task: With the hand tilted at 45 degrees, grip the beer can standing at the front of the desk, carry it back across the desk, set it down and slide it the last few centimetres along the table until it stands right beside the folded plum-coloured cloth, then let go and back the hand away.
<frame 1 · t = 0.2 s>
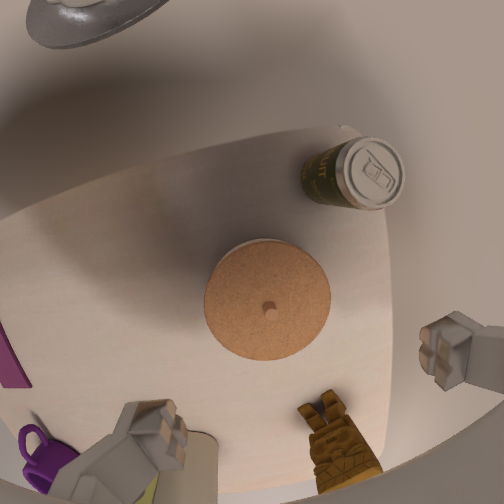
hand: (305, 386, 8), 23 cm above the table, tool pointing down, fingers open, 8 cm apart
trinket box: (260, 279, 32), on the table
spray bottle: (155, 416, 35), on the table
paper towel roll: (196, 440, 36), on the table
beer can: (323, 179, 30), on the table
figurine: (322, 408, 36), on the table
mug: (58, 444, 36), on the table
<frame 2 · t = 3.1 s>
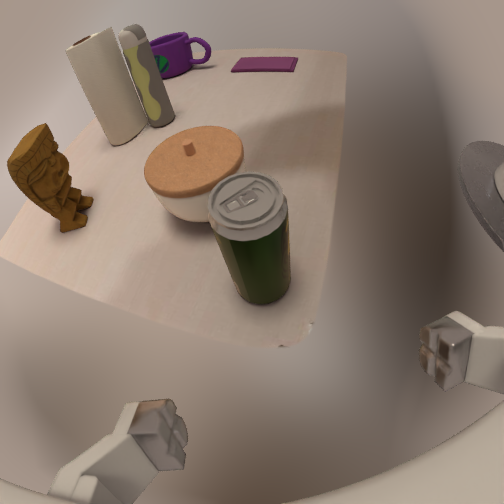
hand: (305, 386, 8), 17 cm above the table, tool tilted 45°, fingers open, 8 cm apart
trinket box: (208, 203, 35), on the table
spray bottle: (163, 121, 48), on the table
paper towel roll: (127, 136, 48), on the table
beer can: (263, 282, 29), on the table
cloth: (265, 64, 57), on the table
figurine: (76, 216, 38), on the table
mug: (184, 70, 62), on the table
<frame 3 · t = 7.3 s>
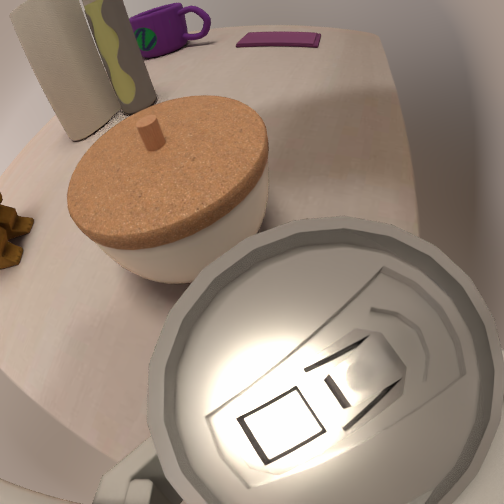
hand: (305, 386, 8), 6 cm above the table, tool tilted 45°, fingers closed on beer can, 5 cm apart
trinket box: (198, 238, 20), on the table
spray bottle: (140, 106, 33), on the table
paper towel roll: (92, 128, 32), on the table
beer can: (302, 410, 13), on the table, touching gripper
cloth: (280, 39, 42), on the table
figurine: (12, 246, 23), on the table
mug: (177, 48, 47), on the table
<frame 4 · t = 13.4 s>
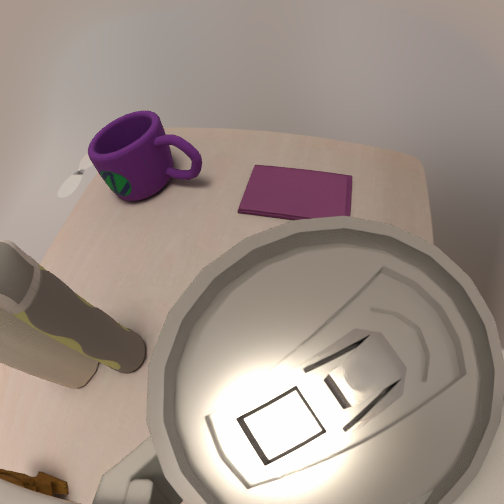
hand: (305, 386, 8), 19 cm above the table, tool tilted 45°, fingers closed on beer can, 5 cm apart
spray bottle: (129, 353, 29), on the table
paper towel roll: (80, 366, 28), on the table
beer can: (302, 410, 13), point 13 cm above the table, touching gripper
cloth: (298, 193, 38), on the table
figurine: (54, 494, 19), on the table
mug: (160, 182, 43), on the table
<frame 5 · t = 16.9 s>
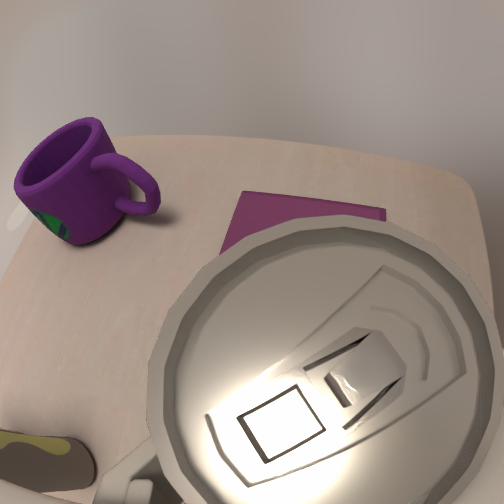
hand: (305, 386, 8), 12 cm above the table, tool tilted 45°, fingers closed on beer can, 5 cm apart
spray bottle: (77, 463, 16), on the table
beer can: (302, 409, 13), point 5 cm above the table, touching gripper
cloth: (307, 239, 25), on the table
mug: (114, 216, 30), on the table
when the fingers open (6 cm above the table, at t = 19.9 s): beer can stays where it is, on the table.
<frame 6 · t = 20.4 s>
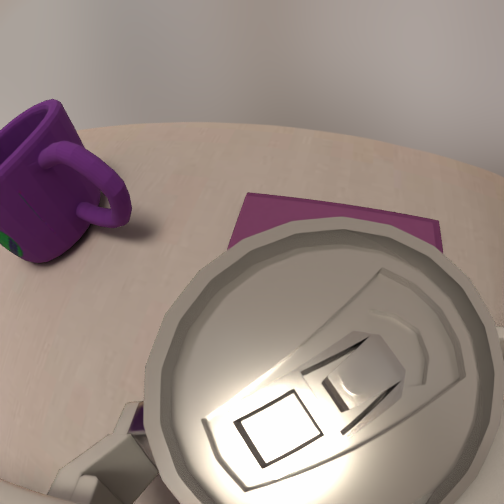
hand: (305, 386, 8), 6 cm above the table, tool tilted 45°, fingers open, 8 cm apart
beer can: (302, 410, 13), on the table
cloth: (340, 264, 17), on the table
mug: (80, 226, 22), on the table
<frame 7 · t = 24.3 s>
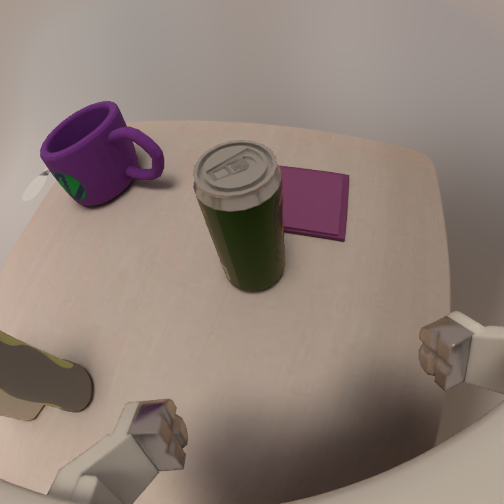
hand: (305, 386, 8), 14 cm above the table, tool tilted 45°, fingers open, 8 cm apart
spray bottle: (76, 388, 22), on the table
paper towel roll: (30, 397, 21), on the table
beer can: (255, 268, 27), on the table
cloth: (281, 196, 31), on the table
mug: (123, 184, 36), on the table
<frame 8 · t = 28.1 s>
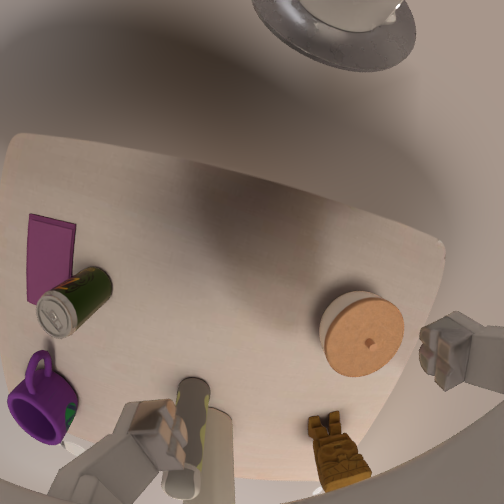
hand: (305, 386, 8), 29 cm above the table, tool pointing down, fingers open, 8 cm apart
trinket box: (345, 316, 40), on the table
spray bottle: (194, 387, 41), on the table
paper towel roll: (214, 418, 42), on the table
beer can: (97, 284, 37), on the table
cloth: (48, 265, 35), on the table
figurine: (323, 424, 44), on the table
mug: (55, 377, 39), on the table
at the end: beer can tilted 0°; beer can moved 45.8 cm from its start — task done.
